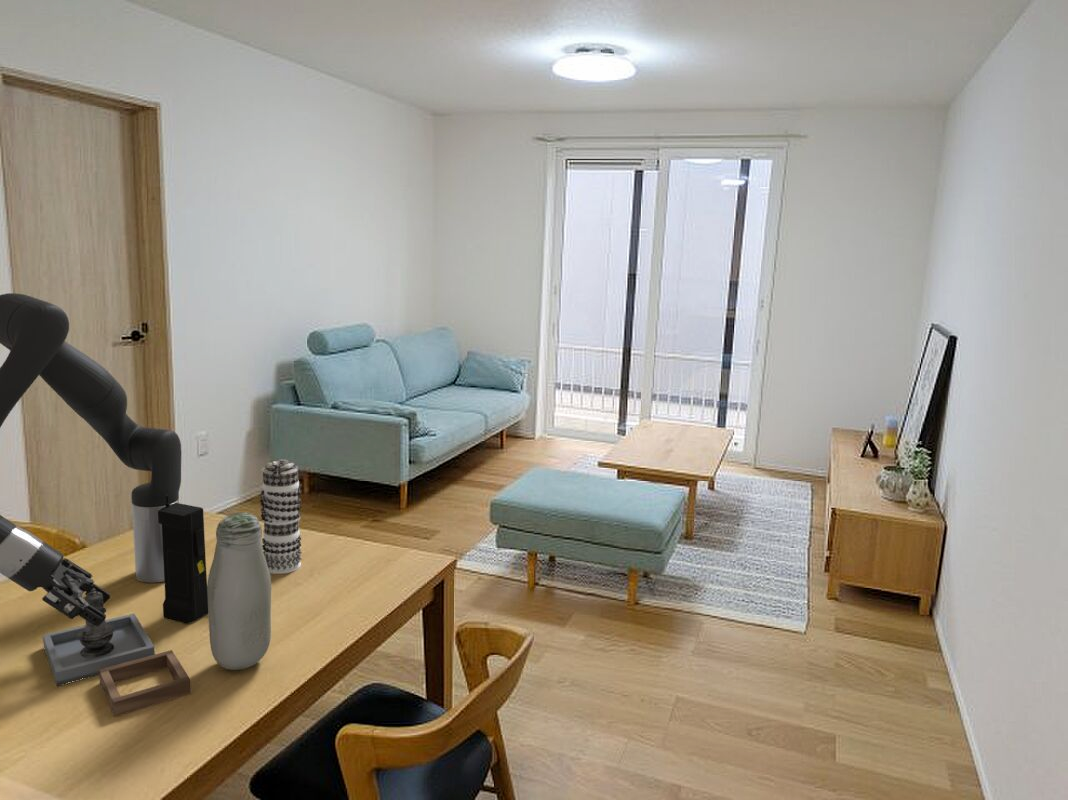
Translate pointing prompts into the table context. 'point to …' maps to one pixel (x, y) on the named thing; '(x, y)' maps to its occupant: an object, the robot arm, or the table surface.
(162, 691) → the walnut collar
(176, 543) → the portable radio
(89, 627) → the dark grey chess piece
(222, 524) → the glass bottle
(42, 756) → the table surface
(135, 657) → the grey tray
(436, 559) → the table surface
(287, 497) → the decorative candle
